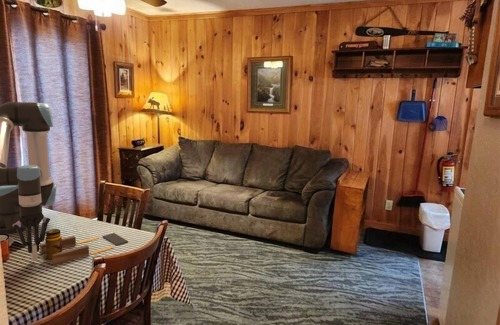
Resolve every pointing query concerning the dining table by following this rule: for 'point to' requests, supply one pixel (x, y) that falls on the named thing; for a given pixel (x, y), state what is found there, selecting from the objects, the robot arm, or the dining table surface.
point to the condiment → (52, 244)
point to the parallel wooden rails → (68, 254)
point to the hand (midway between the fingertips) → (34, 259)
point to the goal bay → (97, 250)
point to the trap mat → (115, 239)
